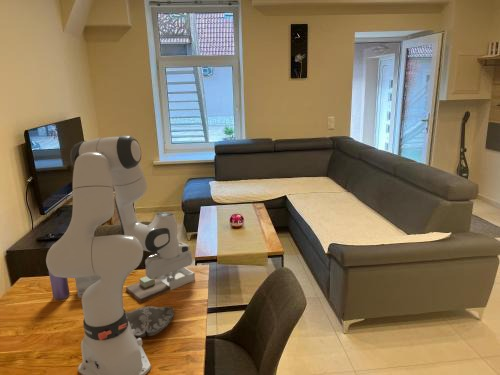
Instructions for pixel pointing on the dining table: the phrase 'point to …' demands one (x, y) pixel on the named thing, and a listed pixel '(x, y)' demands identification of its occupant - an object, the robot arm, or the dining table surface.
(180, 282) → the grey tray
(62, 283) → the beverage can
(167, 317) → the brain slice
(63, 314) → the dining table surface
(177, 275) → the cream tile
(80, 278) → the supplement box
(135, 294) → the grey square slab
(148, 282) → the sage tile
